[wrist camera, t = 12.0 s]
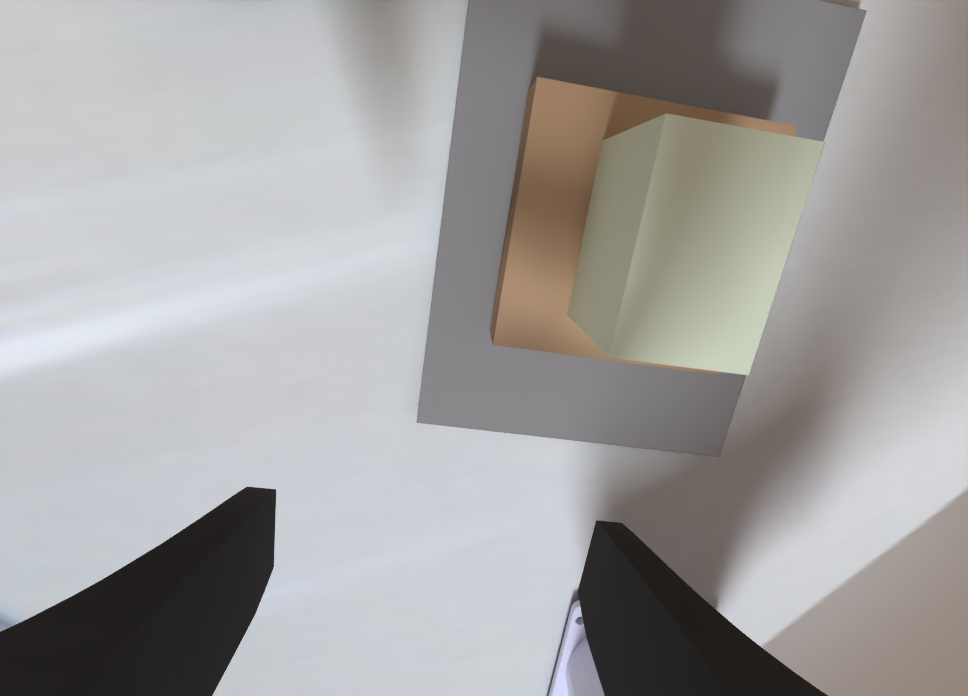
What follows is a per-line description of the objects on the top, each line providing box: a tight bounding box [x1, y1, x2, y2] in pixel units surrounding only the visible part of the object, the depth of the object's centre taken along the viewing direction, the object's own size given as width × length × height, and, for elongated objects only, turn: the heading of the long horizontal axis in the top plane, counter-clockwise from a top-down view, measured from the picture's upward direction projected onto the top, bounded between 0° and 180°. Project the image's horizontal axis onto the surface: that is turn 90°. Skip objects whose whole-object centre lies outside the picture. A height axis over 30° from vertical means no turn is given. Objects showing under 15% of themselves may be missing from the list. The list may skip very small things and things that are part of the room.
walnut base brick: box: [489, 77, 798, 375], centre depth 18 cm, size 9×9×2 cm
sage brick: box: [567, 113, 825, 375], centre depth 14 cm, size 6×4×5 cm, turn 172°
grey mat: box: [417, 0, 866, 457], centre depth 19 cm, size 18×14×1 cm
